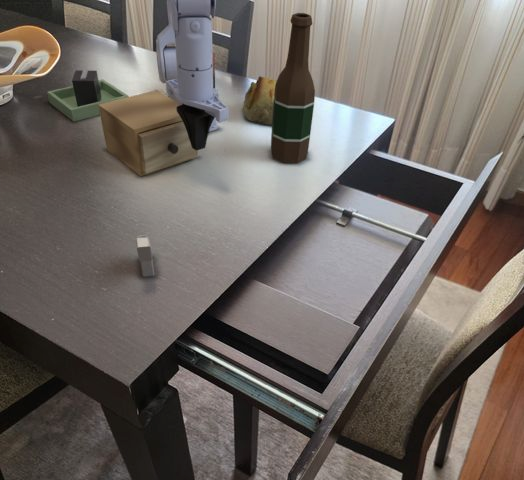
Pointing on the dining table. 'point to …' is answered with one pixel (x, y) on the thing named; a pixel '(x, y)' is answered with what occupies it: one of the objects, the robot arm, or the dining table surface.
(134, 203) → the dining table surface
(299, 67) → the beer bottle
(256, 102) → the pastry
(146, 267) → the grey upright block
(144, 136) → the drawer
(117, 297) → the dining table surface
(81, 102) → the black rectangular block
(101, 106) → the cabinet
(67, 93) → the tray
